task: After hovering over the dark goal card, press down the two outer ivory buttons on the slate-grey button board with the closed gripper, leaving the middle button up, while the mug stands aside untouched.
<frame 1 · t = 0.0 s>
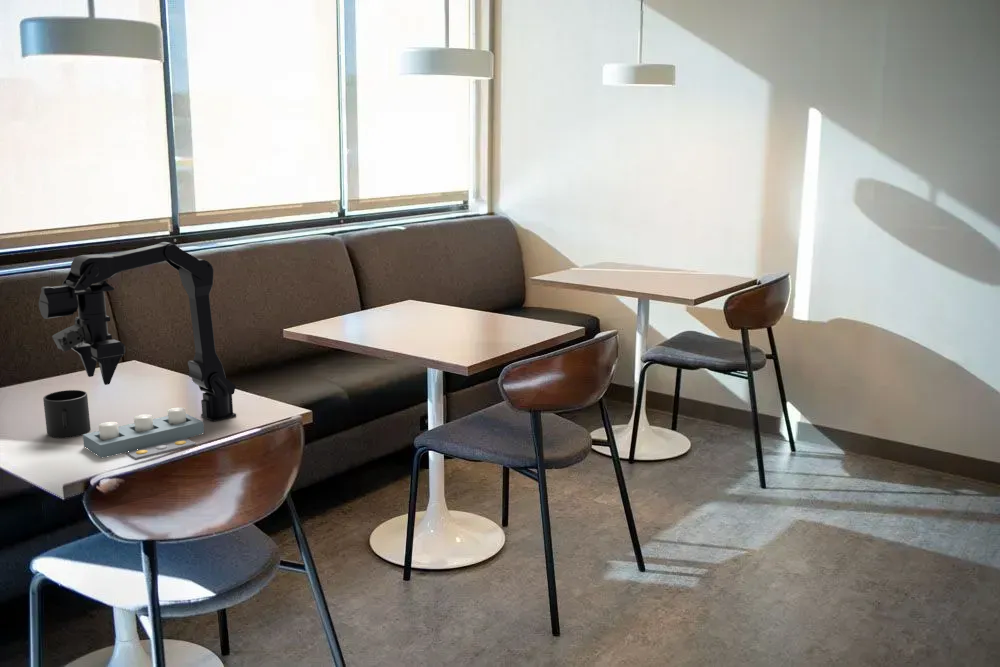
hand: (98, 380, 219), 15 cm above the table, tool pointing down, fingers open, 9 cm apart
button mid: (143, 424, 223), point 4 cm above the table, slide at 0.0 cm
button 2: (177, 417, 229), point 4 cm above the table, slide at 0.0 cm
button 1: (109, 432, 218), point 4 cm above the table, slide at 0.0 cm
button board: (145, 440, 224), on the table
goal card: (161, 449, 218), on the table
mug: (68, 434, 229), on the table
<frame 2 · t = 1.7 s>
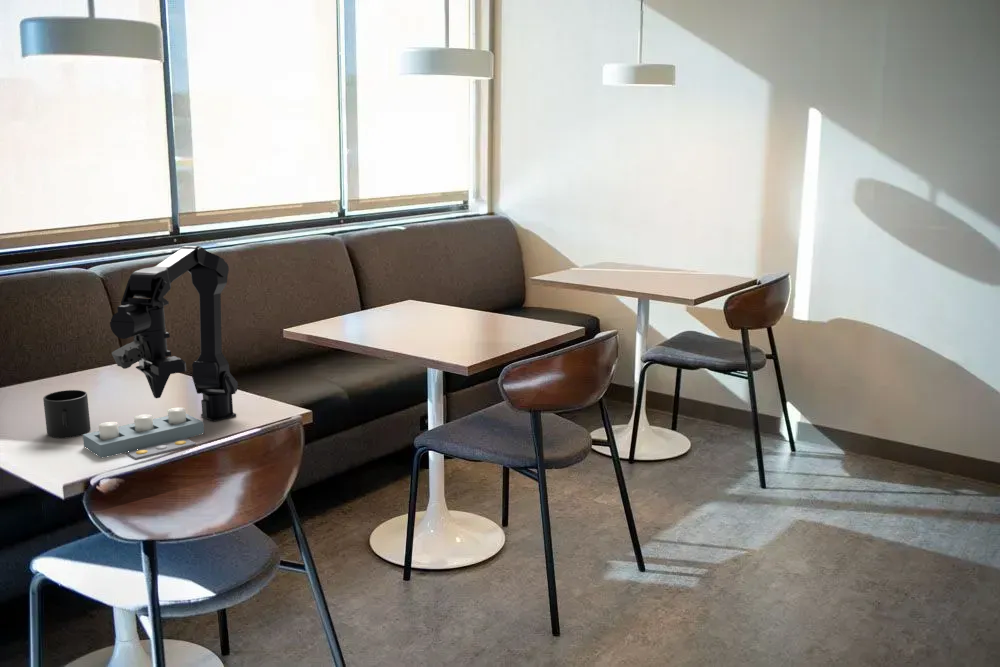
hand: (157, 397, 215), 12 cm above the table, tool pointing down, fingers closed
nothing on the table moved.
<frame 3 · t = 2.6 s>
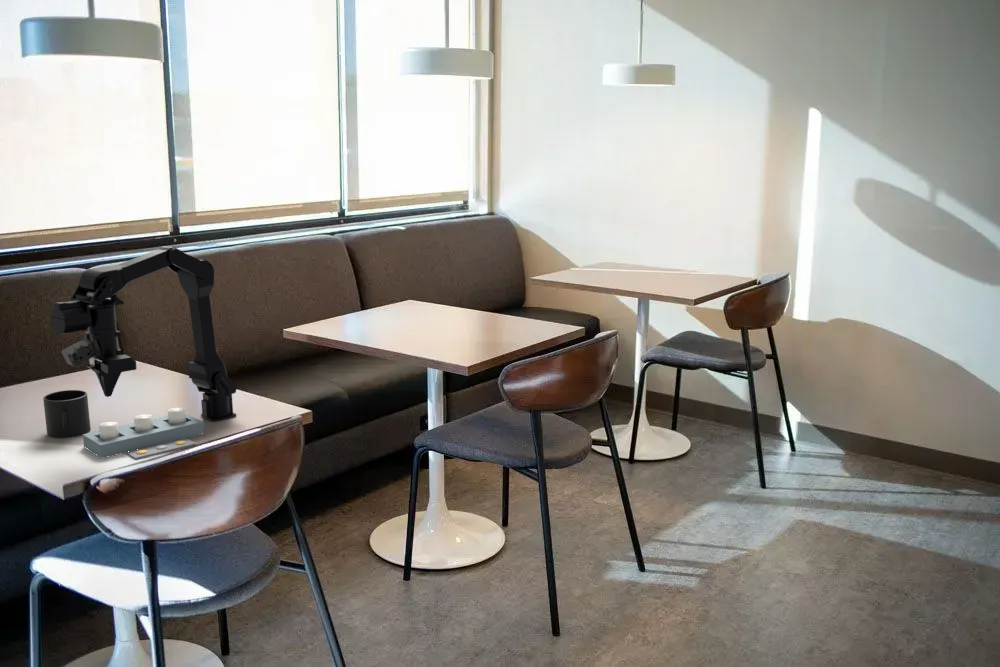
hand: (108, 396, 216), 12 cm above the table, tool pointing down, fingers closed
nothing on the table moved.
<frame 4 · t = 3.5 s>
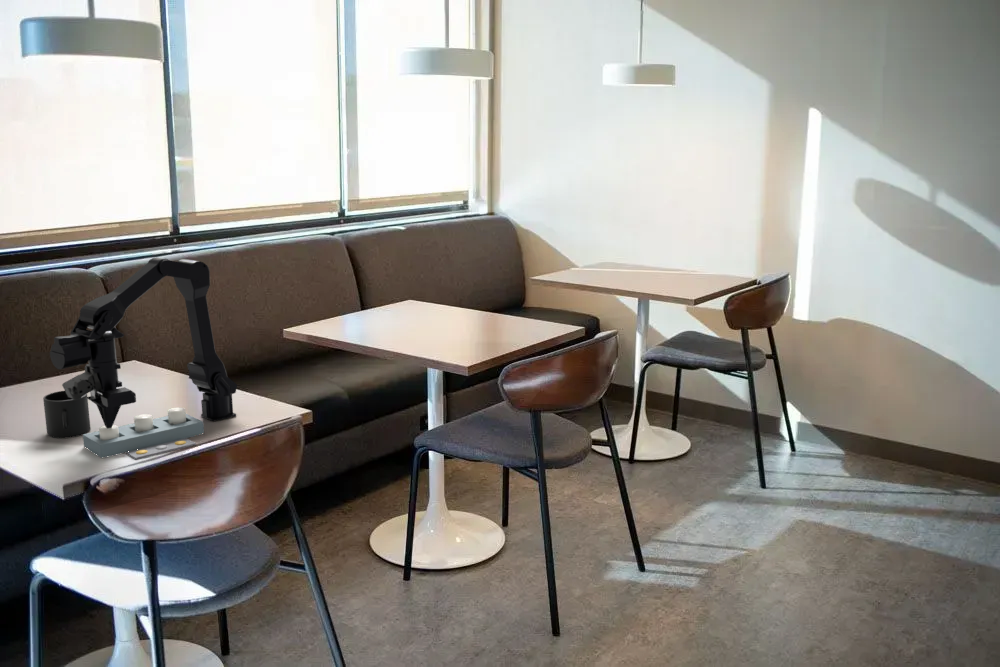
hand: (108, 427, 218), 5 cm above the table, tool pointing down, fingers closed, pressing on button 1
button 1: (109, 435, 218), point 3 cm above the table, slide at 0.8 cm, touching gripper
everything else where it was.
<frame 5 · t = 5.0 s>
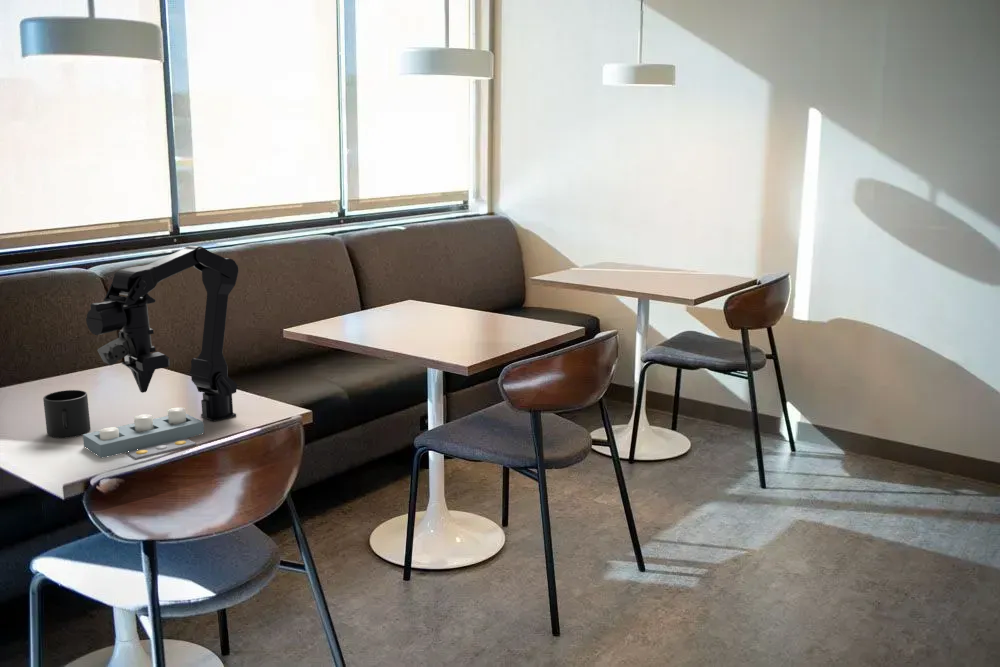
hand: (143, 392, 222), 11 cm above the table, tool pointing down, fingers closed
button 1: (109, 437, 218), point 3 cm above the table, slide at 1.3 cm
everything else where it was.
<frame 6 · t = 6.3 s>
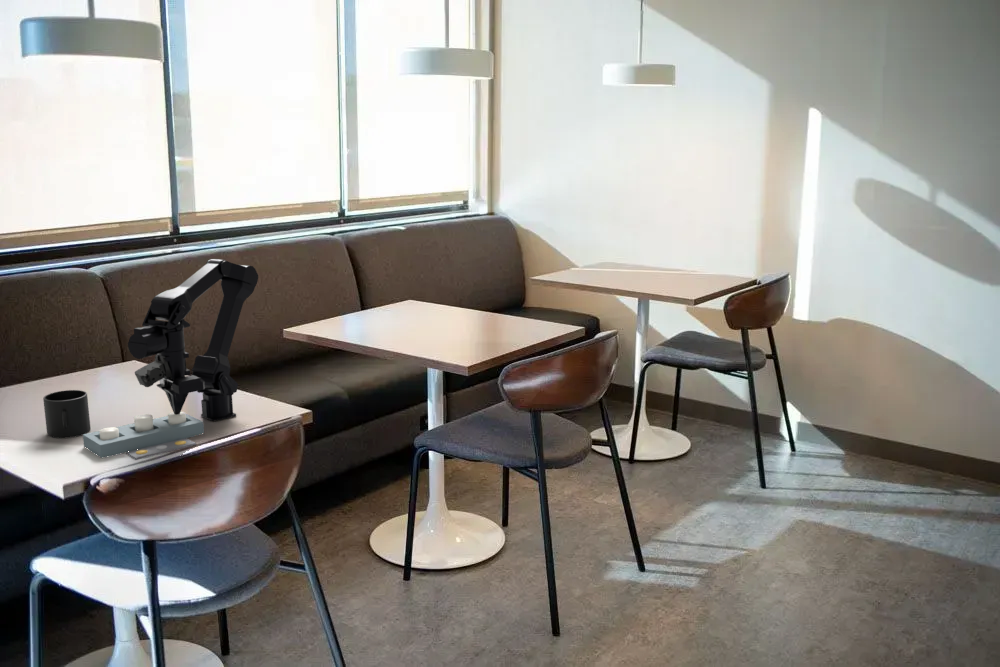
hand: (176, 413, 228), 5 cm above the table, tool pointing down, fingers closed, pressing on button 2
button 2: (177, 421, 229), point 3 cm above the table, slide at 1.0 cm, touching gripper
everything else where it was.
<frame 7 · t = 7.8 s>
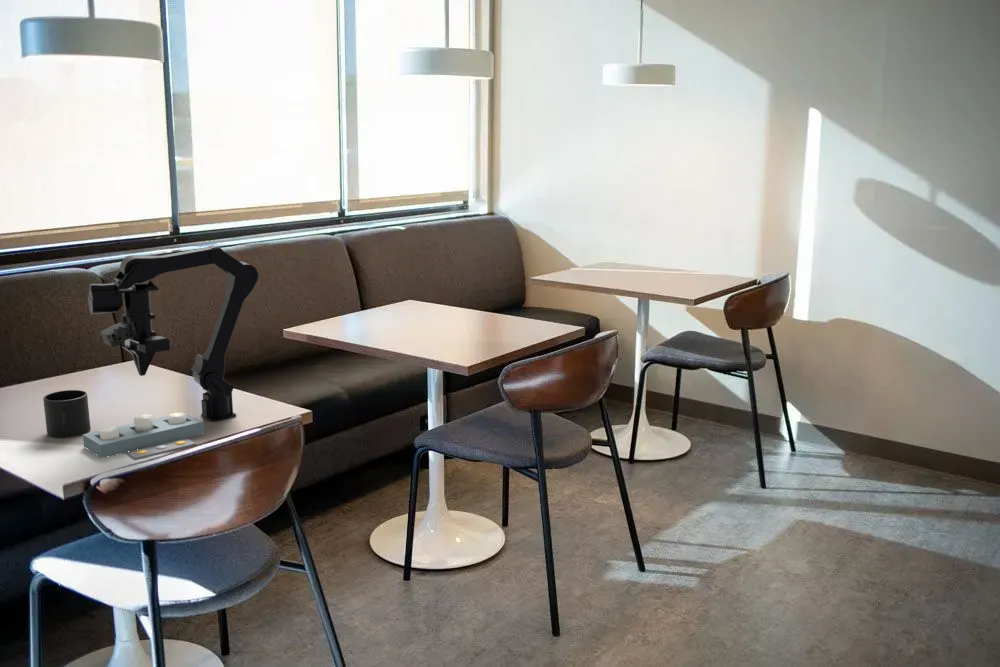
hand: (142, 375, 230), 13 cm above the table, tool pointing down, fingers closed
button 2: (177, 422, 229), point 2 cm above the table, slide at 1.3 cm
everything else where it was.
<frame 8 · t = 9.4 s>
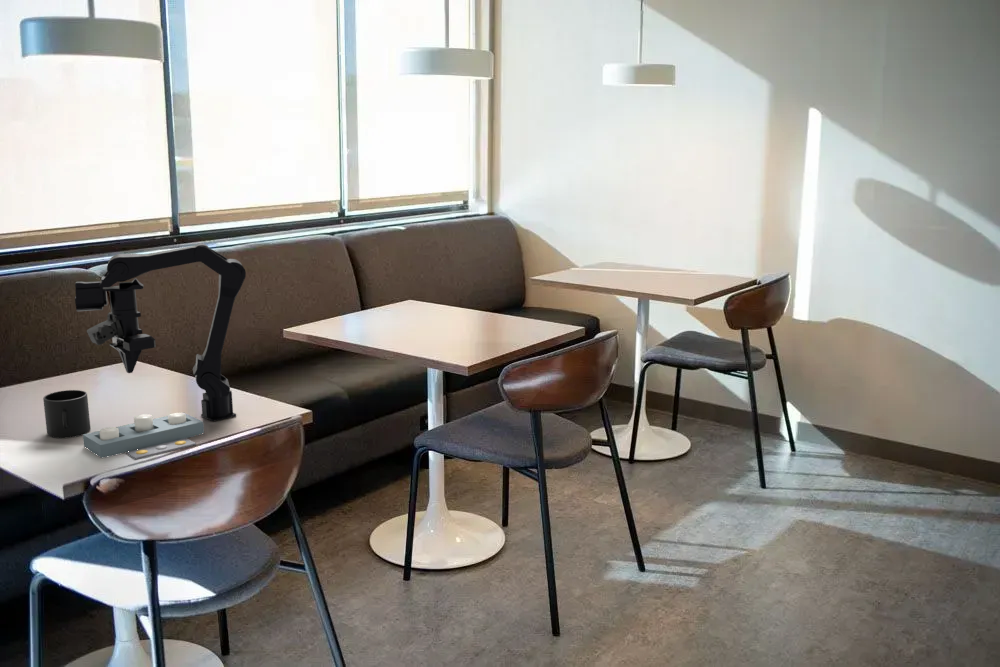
hand: (129, 372, 232), 13 cm above the table, tool pointing down, fingers closed
nothing on the table moved.
at the end: button 1 slide at 1.3 cm; button 2 slide at 1.3 cm; button mid slide at 0.0 cm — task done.
